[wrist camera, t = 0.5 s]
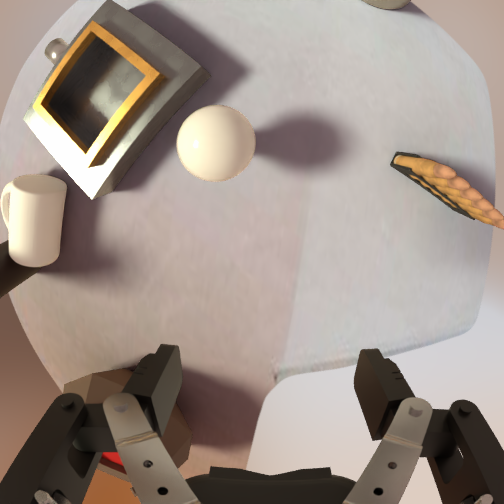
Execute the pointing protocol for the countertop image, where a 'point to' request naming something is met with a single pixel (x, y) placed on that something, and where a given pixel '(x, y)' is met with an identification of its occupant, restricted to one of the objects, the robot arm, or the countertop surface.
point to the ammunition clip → (447, 187)
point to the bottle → (12, 271)
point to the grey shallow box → (110, 96)
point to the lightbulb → (216, 143)
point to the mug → (34, 218)
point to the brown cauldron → (113, 382)
